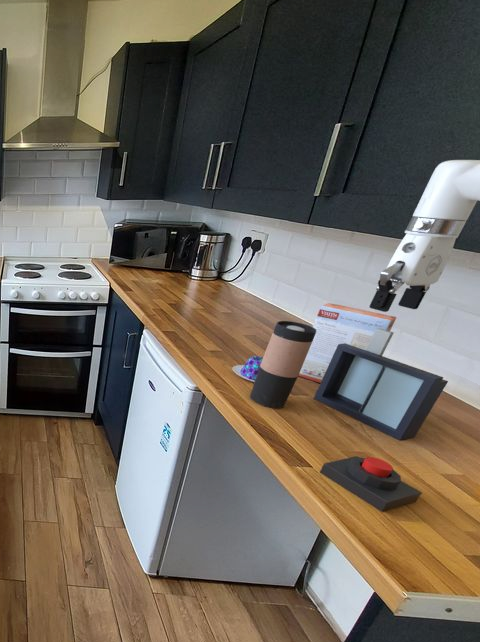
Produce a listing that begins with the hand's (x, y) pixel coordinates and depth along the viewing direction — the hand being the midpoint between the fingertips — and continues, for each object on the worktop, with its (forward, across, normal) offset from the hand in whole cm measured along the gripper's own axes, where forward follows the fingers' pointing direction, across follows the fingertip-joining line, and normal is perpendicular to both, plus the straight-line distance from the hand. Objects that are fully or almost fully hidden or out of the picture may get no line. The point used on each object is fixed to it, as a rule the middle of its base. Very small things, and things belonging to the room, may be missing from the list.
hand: (392, 308), depth 88 cm
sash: (+24, +1, 0) cm, 24 cm away
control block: (+26, -27, -21) cm, 43 cm away
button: (+22, -27, -21) cm, 41 cm away
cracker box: (+26, +11, +11) cm, 30 cm away
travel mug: (+26, -16, +7) cm, 31 cm away
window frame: (+26, 0, -4) cm, 26 cm away
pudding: (+26, -6, +18) cm, 32 cm away
